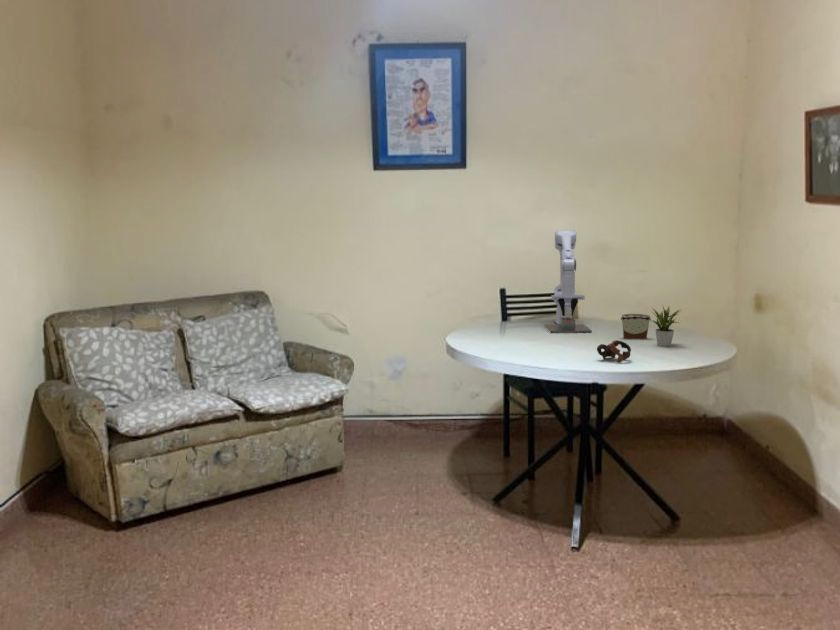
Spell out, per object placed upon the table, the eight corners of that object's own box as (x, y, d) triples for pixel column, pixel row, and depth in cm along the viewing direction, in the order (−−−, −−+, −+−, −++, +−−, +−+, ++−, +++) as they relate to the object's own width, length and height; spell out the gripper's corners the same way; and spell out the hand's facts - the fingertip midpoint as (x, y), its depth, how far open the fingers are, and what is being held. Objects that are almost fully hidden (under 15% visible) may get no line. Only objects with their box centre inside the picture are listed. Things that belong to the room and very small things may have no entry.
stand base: (544, 326, 346) (544, 314, 345) (583, 326, 346) (583, 314, 345) (550, 333, 328) (550, 320, 328) (591, 332, 328) (591, 320, 327)
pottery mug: (620, 358, 278) (630, 341, 274) (626, 374, 270) (636, 356, 266) (590, 350, 276) (599, 333, 272) (595, 366, 269) (604, 349, 264)
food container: (647, 336, 318) (648, 313, 316) (650, 339, 312) (651, 315, 310) (617, 336, 319) (618, 313, 317) (620, 339, 313) (620, 315, 311)
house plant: (689, 349, 290) (691, 307, 287) (653, 349, 291) (654, 307, 288) (679, 342, 304) (680, 302, 302) (644, 342, 305) (646, 303, 302)
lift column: (563, 326, 339) (563, 308, 337) (570, 326, 339) (570, 308, 337) (564, 327, 335) (564, 309, 334) (571, 327, 335) (572, 309, 334)
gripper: (553, 286, 330) (552, 317, 332) (586, 286, 330) (585, 316, 332) (550, 285, 337) (550, 314, 339) (582, 284, 337) (582, 314, 339)
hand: (567, 315), depth 336 cm, fingers closed on lift column, 3 cm apart
